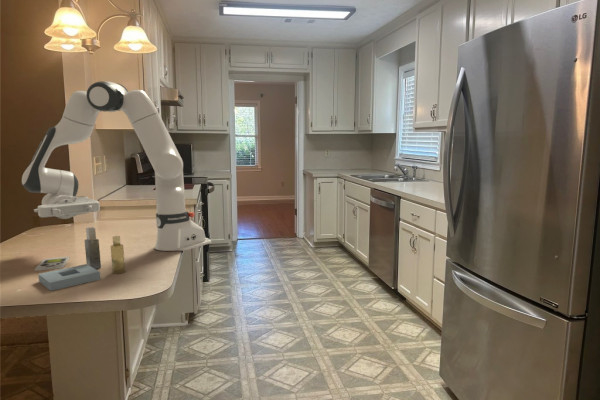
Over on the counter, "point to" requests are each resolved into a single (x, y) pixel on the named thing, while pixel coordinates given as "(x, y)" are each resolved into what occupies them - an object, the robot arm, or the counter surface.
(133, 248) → the counter surface
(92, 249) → the square bit
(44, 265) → the handheld gaming device
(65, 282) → the socket plate
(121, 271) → the gold bottle
